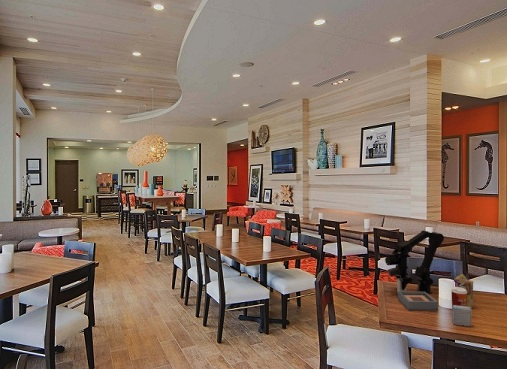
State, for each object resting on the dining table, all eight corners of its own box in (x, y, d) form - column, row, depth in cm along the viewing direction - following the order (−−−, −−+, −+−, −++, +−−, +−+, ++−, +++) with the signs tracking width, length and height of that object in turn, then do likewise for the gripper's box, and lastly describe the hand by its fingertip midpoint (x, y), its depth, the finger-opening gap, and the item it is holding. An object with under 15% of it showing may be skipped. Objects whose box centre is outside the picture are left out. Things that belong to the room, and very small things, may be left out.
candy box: (473, 307, 197) (473, 280, 197) (470, 309, 195) (470, 282, 194) (456, 302, 204) (456, 277, 204) (453, 304, 202) (453, 278, 201)
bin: (424, 299, 208) (425, 291, 208) (437, 310, 192) (438, 302, 192) (397, 299, 209) (397, 291, 209) (408, 310, 193) (408, 301, 193)
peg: (403, 292, 220) (403, 278, 220) (405, 294, 216) (406, 280, 216) (397, 292, 221) (397, 278, 220) (399, 294, 217) (399, 280, 216)
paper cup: (461, 318, 183) (461, 292, 182) (447, 313, 189) (447, 287, 189) (469, 315, 186) (470, 289, 186) (455, 310, 193) (456, 285, 192)
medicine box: (469, 323, 177) (469, 306, 176) (471, 327, 173) (471, 310, 172) (451, 321, 179) (452, 304, 179) (453, 324, 175) (453, 308, 175)
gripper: (384, 260, 227) (383, 283, 228) (394, 268, 209) (394, 293, 209) (401, 260, 227) (400, 283, 228) (413, 268, 208) (412, 294, 209)
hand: (401, 288), depth 218 cm, fingers closed on peg, 4 cm apart
